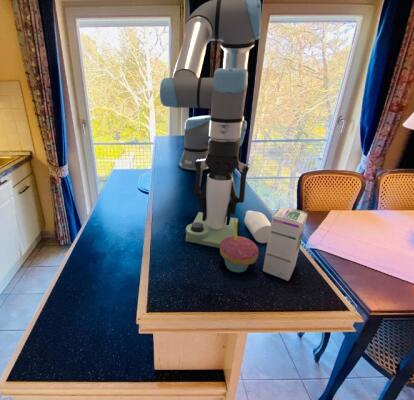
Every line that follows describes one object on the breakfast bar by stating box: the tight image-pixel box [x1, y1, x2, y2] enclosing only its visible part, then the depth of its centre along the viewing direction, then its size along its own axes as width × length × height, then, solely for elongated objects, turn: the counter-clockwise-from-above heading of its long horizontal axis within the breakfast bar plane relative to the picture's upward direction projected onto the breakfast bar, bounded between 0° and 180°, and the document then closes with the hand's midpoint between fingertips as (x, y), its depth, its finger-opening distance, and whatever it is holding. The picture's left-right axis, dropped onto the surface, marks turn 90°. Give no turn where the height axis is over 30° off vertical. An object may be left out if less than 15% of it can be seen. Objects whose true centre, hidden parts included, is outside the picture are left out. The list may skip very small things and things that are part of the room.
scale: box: [184, 211, 239, 249], centre depth 74 cm, size 15×12×3 cm
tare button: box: [191, 222, 203, 232], centre depth 71 cm, size 3×3×2 cm
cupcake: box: [219, 217, 259, 273], centre depth 59 cm, size 9×8×12 cm
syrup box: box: [262, 205, 308, 282], centre depth 57 cm, size 6×6×14 cm
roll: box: [243, 210, 271, 244], centre depth 74 cm, size 6×12×6 cm, turn 2°
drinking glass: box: [206, 173, 234, 230], centre depth 72 cm, size 7×7×15 cm
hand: (216, 220), depth 74 cm, fingers closed on drinking glass, 6 cm apart
